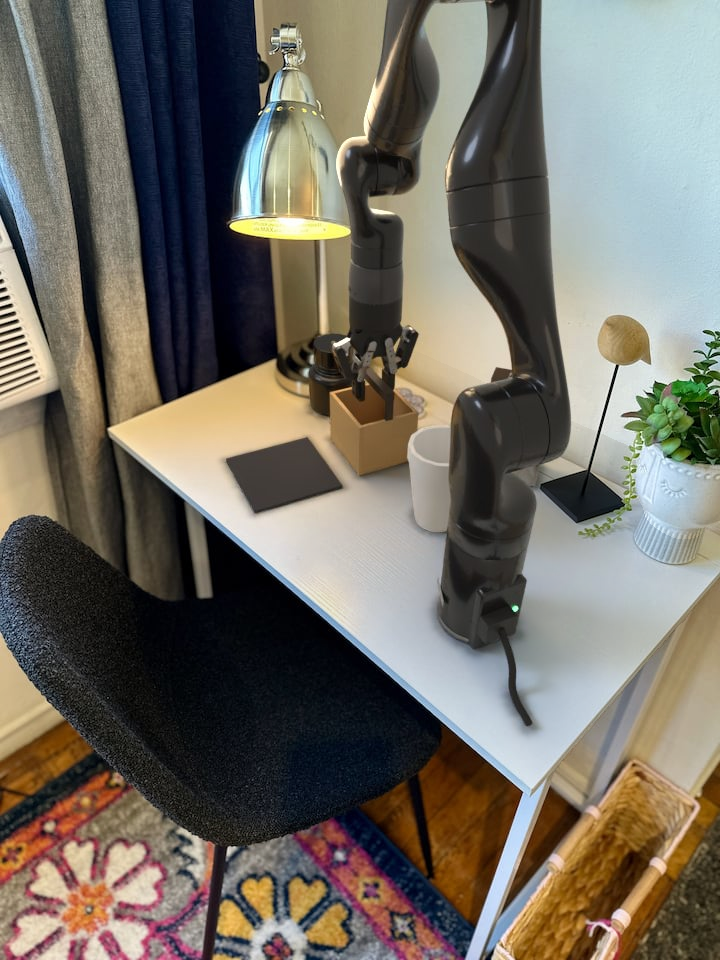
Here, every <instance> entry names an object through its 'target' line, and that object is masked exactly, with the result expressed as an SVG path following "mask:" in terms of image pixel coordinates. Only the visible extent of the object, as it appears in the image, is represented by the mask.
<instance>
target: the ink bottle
mask: <svg viewBox="0 0 720 960" xmlns="http://www.w3.org/2000/svg"><path fill="white" fill-rule="evenodd" d="M345 338H347V334H342V333H325V334H323V335H319V336H317V337H316V338H315V339H314V340H313V363H312V364H311V366H310V368H309V369H308V396H309V397H308V399H309V404H310V407H311V408H312V409H313V410H314V411H316V412H318V413H319V414H322V415H325V416H330V392H333V391H337V390H342V389H346V388H350V387H352V380H351V381H348V380H346V378H345V377H344V376H343V375H342V374H341V373H340V371H339V369H338V366H337V363H336V361H335V358H334V356H333V353H332V351H331V348H330V343H331V342H332V341H336V342H337V343H338V342H340V341H342V340H344V339H345ZM353 353H354V348H353V347H352V346H350V347H349V353H348V354H349V355H348V356H346V357H347V359H348V362H349V365H350V367H352V364H353V358H352V357H353Z"/></svg>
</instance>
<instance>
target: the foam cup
mask: <svg viewBox="0 0 720 960" xmlns="http://www.w3.org/2000/svg"><path fill="white" fill-rule="evenodd" d="M450 429H451V425H447V424H446V425H444V424H443V425H441V424H434V425H429V426H425V427H422V428H419V429H417V431H416V432H415V433H414V434H412V435H411V437H410V440H409V443H408V453H407V459H408V467H409V473H410V474H409V476H410V477H409V478H410V485H411V486H410V487H411V498H412V506H413V514H414V516H413V517H414V520H415V522H416V524H417V525H418V526H419V527H420V528H422V529H423V530H426V531H429V532H432V533H444V532H447V526H448V517H449V509H450V490H449V480H448V471H449V455H450Z"/></svg>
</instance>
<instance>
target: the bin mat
mask: <svg viewBox="0 0 720 960" xmlns="http://www.w3.org/2000/svg"><path fill="white" fill-rule="evenodd" d="M225 461H226V463H227V465H228V467H229V468H230V470H231V472H232V474H233V476H234V477H235V479H236V482H237V483H238V485H239V486H240V488H241V490H242V492H243V494H244V496H245V498H246V499H247V501H248V504H249V505H250V507H251V508H252V510H253V512H254V514H257V513H260V512H264V511H267V510H269V509H273V508H277V507H280V506H284V505H288V504H291V503H294V502H297V501H301V500H304V499H307V498H311V497H315V496H318V495H322V494H326V493H328V492H331V491H334V490H339V489H341V488H343V484H342V482H341V481H340V480H339V479H338V477H337V476H336V475H335V473H334V472H333V470H332V469H331V468H330V466H329V465H328V464H327V462H326V460H325V459H324V458H323V456H322V455H321V454H320V452H319V451H318V450H317V449H316V447H315V445H314V444H313V443H312V442H311V440H310V439H309V437H308V436H306V437H303V438H299V439H295V440H291V441H288V442H287V441H286V442H283V443H279V444H275V445H272V446H268V447H265V448H260V449H257V450H253V451H249V452H245V453H241V454H238V455H233V456H230V457H226V458H225Z"/></svg>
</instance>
